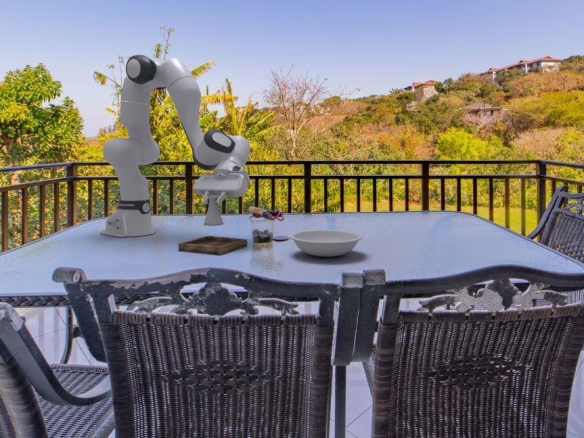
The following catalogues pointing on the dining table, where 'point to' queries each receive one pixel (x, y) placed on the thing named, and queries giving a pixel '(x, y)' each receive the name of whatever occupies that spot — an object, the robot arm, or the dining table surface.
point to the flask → (213, 214)
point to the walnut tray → (212, 245)
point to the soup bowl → (326, 241)
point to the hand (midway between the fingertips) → (211, 203)
